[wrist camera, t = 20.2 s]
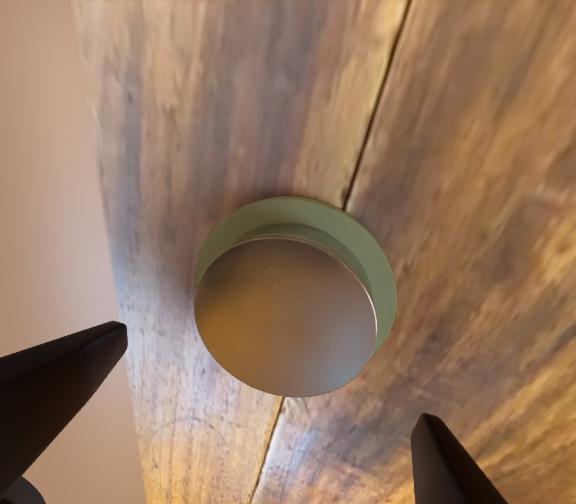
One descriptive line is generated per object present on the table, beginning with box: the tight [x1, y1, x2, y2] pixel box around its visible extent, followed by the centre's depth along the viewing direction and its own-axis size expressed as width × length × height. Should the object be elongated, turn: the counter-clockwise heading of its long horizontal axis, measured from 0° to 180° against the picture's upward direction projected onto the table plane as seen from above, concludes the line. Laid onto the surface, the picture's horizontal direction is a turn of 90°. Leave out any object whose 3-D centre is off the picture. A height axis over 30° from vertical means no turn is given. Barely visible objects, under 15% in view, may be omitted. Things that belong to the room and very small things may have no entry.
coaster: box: [195, 196, 397, 356], centre depth 13 cm, size 9×9×1 cm
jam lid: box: [194, 223, 377, 397], centre depth 11 cm, size 7×7×2 cm
